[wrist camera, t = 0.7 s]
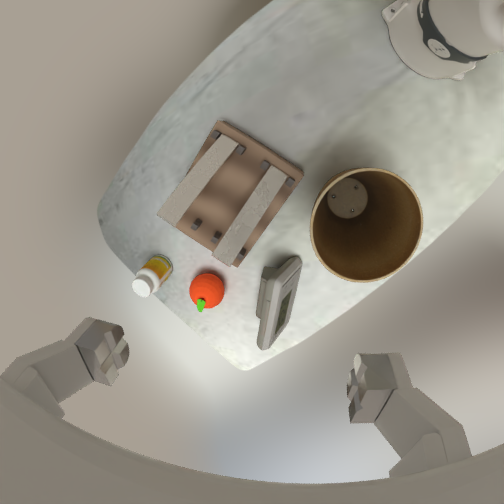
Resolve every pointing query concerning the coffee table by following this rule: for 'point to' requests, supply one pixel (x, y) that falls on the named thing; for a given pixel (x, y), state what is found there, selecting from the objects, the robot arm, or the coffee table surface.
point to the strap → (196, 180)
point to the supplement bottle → (152, 276)
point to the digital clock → (276, 300)
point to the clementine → (206, 291)
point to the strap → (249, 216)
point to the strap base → (235, 190)
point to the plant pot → (366, 224)
